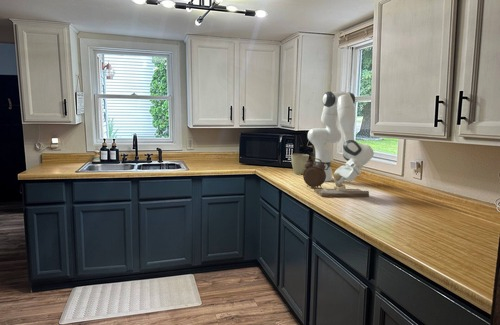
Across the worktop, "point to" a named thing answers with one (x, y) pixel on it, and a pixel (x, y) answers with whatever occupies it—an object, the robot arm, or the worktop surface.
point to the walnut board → (341, 193)
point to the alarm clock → (314, 174)
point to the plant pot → (299, 162)
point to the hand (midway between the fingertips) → (336, 182)
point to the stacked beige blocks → (339, 186)
